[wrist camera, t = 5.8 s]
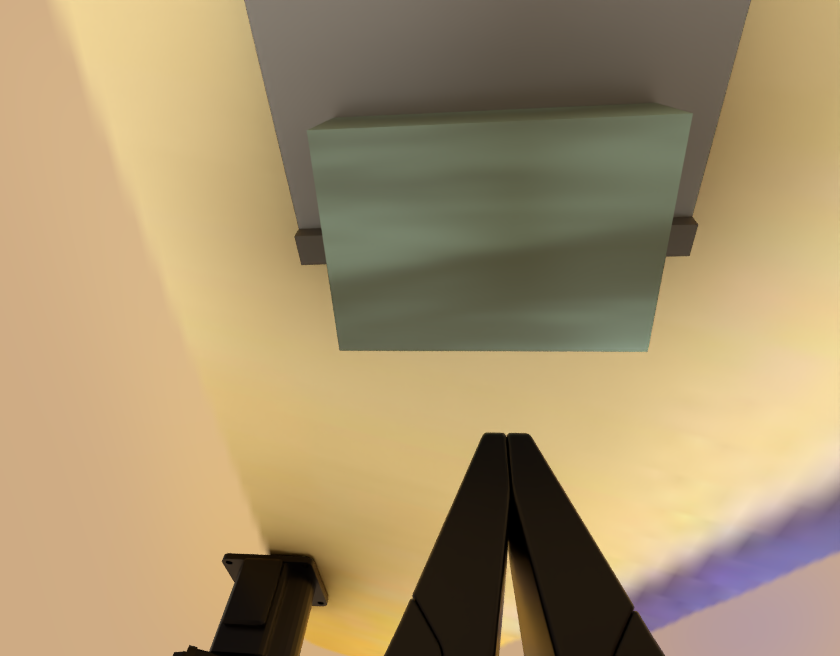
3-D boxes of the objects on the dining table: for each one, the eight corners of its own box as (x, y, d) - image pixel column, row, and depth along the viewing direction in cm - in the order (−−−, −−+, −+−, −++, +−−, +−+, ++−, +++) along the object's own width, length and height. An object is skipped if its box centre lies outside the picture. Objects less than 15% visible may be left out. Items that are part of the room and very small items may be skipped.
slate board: (679, 242, 18) (689, 255, 18) (308, 251, 20) (301, 264, 19) (795, -193, 12) (818, -202, 11) (219, -127, 13) (203, -131, 12)
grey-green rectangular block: (647, 351, 16) (693, 113, 13) (339, 350, 17) (306, 130, 14) (623, 309, 19) (655, 102, 15) (357, 310, 20) (333, 117, 16)
